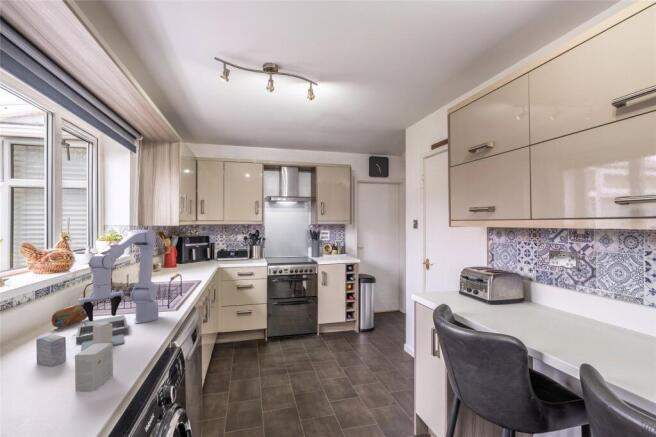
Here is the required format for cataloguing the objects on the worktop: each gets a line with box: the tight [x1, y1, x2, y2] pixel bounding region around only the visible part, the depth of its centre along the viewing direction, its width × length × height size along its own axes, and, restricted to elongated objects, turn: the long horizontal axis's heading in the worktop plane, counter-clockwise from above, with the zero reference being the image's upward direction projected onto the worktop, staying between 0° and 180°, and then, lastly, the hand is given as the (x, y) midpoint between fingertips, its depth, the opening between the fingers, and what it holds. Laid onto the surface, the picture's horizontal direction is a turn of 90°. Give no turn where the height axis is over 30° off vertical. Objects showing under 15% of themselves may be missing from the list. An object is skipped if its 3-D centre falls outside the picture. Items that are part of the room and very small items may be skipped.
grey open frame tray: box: [75, 314, 129, 345], centre depth 131 cm, size 17×27×3 cm, turn 38°
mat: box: [80, 334, 125, 352], centre depth 115 cm, size 13×11×1 cm
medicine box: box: [35, 334, 67, 368], centre depth 100 cm, size 8×4×9 cm, turn 71°
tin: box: [51, 304, 88, 329], centre depth 137 cm, size 15×3×8 cm, turn 168°
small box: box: [74, 343, 114, 393], centre depth 87 cm, size 8×6×10 cm
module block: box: [92, 321, 113, 344], centre depth 115 cm, size 4×6×7 cm, turn 61°
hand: (102, 318), depth 117 cm, fingers open, 7 cm apart
